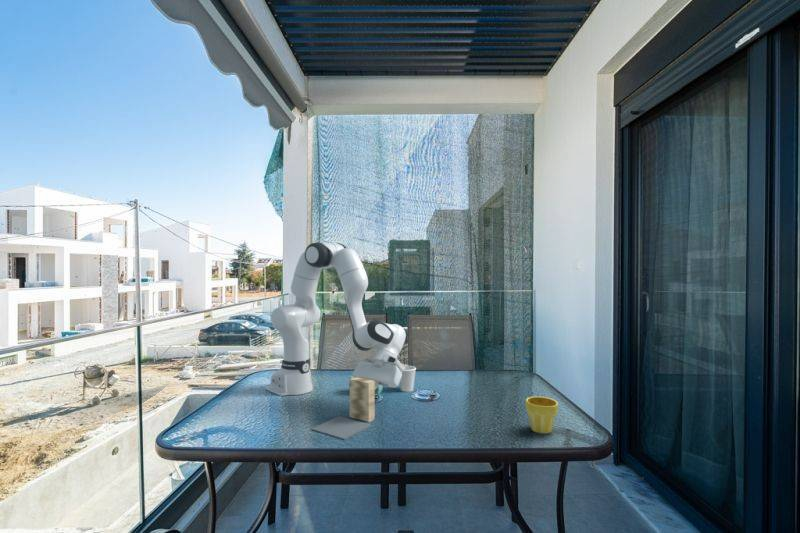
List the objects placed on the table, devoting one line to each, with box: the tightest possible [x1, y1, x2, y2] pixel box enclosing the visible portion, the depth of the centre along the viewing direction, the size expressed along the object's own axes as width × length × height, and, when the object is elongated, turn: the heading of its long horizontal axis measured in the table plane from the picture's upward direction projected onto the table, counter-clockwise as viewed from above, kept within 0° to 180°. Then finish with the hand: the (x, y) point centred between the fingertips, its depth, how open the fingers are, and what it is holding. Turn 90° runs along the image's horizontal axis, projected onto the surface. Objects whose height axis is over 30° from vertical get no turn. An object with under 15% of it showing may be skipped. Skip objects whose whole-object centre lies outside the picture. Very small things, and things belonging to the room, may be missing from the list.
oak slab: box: [349, 377, 376, 423], centre depth 151 cm, size 9×4×14 cm, turn 56°
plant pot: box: [525, 396, 559, 435], centre depth 139 cm, size 10×10×10 cm
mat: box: [311, 415, 372, 441], centre depth 142 cm, size 15×14×1 cm
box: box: [348, 374, 384, 396], centre depth 181 cm, size 7×14×8 cm, turn 76°
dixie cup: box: [399, 365, 417, 393], centre depth 185 cm, size 8×8×10 cm
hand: (367, 392), depth 154 cm, fingers closed
